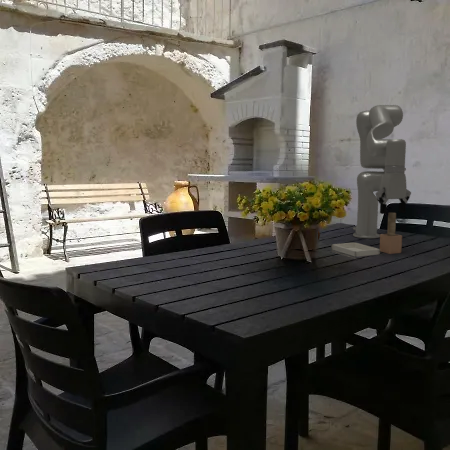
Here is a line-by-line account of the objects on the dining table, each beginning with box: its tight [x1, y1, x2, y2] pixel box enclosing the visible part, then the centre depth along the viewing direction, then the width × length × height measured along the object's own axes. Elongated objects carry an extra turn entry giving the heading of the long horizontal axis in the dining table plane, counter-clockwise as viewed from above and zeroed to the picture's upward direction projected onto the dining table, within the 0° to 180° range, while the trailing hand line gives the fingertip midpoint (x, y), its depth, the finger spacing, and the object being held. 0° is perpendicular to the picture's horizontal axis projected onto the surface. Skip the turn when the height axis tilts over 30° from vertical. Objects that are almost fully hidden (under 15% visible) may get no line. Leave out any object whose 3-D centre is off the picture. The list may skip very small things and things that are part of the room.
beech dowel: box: [386, 212, 397, 236], centre depth 210 cm, size 3×3×16 cm
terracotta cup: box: [379, 233, 403, 255], centre depth 211 cm, size 6×6×8 cm
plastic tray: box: [331, 242, 381, 260], centre depth 211 cm, size 16×12×3 cm
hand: (392, 213), depth 208 cm, fingers open, 9 cm apart
